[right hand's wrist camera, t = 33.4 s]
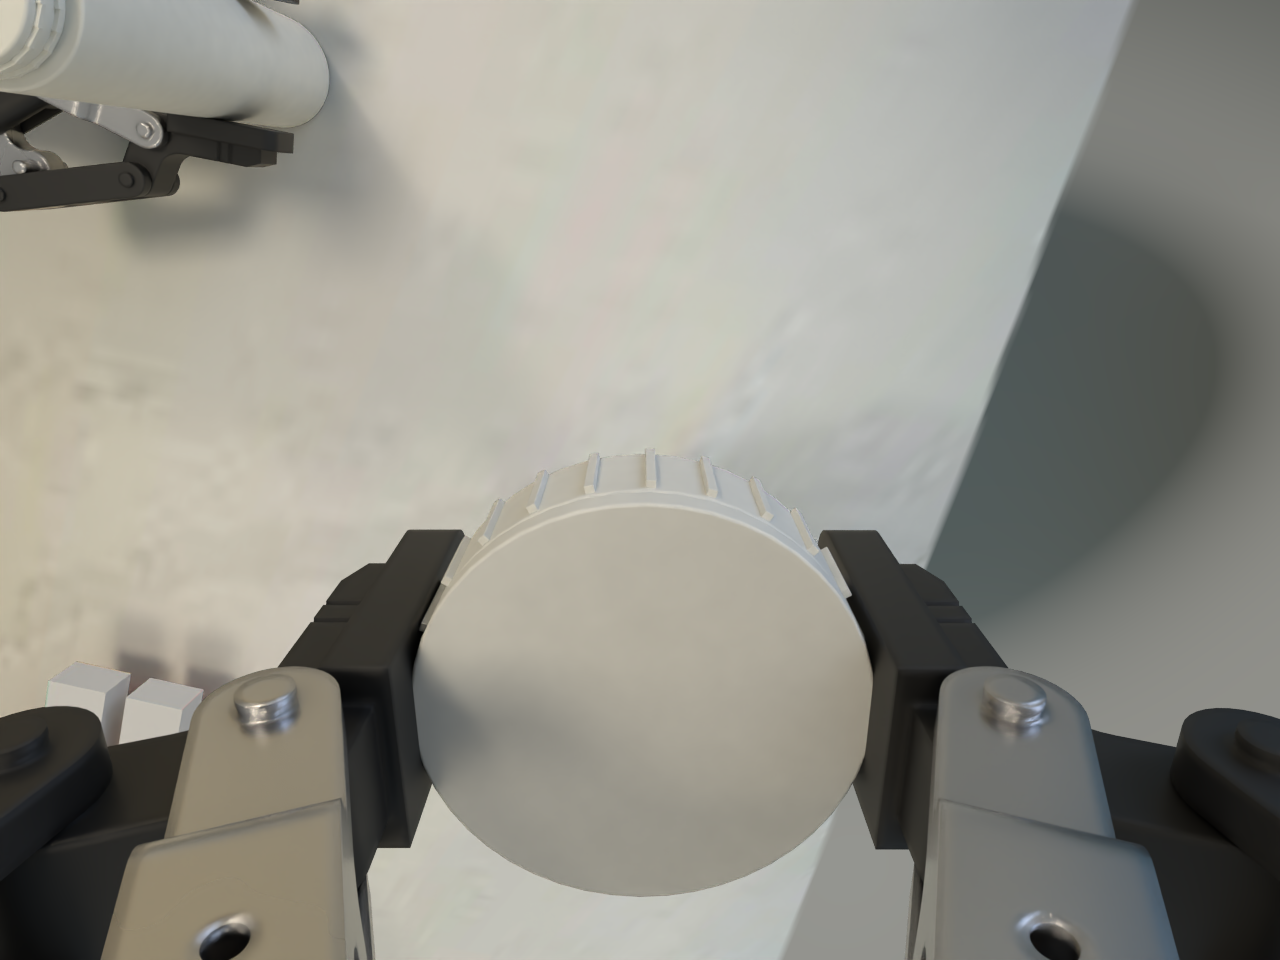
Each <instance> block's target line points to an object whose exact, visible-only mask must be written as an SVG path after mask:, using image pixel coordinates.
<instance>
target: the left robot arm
mask: <svg viewBox="0 0 1280 960" xmlns="http://www.w3.org/2000/svg"><path fill="white" fill-rule="evenodd" d="M276 1H281V2H286V3H291V4H299V0H276ZM63 111H65V112H67V113H69V114H71V115H73V116H75V117H78V118H81V119H83V120H87V121H90V122H93V123H95V124H97V125H99V126H101V127H103V128H105V129H107V130H109V131H111V132H113V133H115V134H117V135H119V136H121V137H123V138H125V139H127V140H129V141H130V142H129V145H128V148H127V151H126V154H125V157H124V159H123V162H117V163H108V164H99V165H91V166H82V167H73V168H68V166H67V165H66V164H65V163H64V162H63V161H62V160H61V159H60V157H59V156H57V155H56V154H55V153H53V152H50V151H42V150H38V149H36V148H34V147H32V146H31V145H30V144H29V143H28V142H27V140H26V139H25V137H24V135H23V134H25V133H27V132H29V131H30V130H32V129H34V128H35V127H37V126H39V125H41V124H42V123H44V122H46V121H47V120H49V119H51V118H52V117H54V116H56V115H58V114H59V113H61V112H63ZM293 139H294V134H292V133H288V132H283V131H277V130H272V129H267V128H262V127H257V126H252V125H247V124H242V123H237V122H232V121H226V120H218V119H211V118H203V117H194V116H186V115H179V114H171V113H163V112H155V111H148V110H140V109H132V108H124V107H117V106H109V105H101V104H93V103H86V102H78V101H70V100H62V99H55V98H47V97H39V96H31V95H24V94H16V93H8V92H0V211H1V212H8V211H25V210H43V209H55V208H64V207H73V206H82V205H91V204H100V203H109V202H118V201H127V200H136V199H145V198H154V197H163V196H170V195H173V194H175V193H176V192H177V190H178V189H179V185H180V180H179V176H178V174H177V173H178V170H179V168H180V165H181V163H182V162H183V160H184V159H185V158H187V157H188V156H193V157H199V158H204V159H209V160H214V161H220V162H224V163H230V164H235V165H240V166H245V167H266V166H270V165H275V164H276V162H277V152H280V153H293Z"/></svg>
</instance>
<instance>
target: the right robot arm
mask: <svg viewBox="0 0 1280 960" xmlns="http://www.w3.org/2000/svg"><path fill="white" fill-rule="evenodd" d="M464 536H465V535H464V533H463V531H462V530H408V531H407V532H406V533H405V535H404V536H403V538H402V539H401V541H400V542H399V544H398V545H397V547H396V548H395V550H394V551H393V553H392V555H391V556H390V558H389V559H388V561H387V562H386V563H369V564H367V565H366V566H364V567H363V568H361V569H359V570H358V571H356V572H355V573H353V574H351V575H350V576H348V577H346V578H345V579H343V580H342V581H341V582H340V583H339V584H338V586H337V587H336V589H335V590H334V591H333V593H332V594H331V595H330V597H329V598H328V599H327V601H326V605H323V606H322V608H321V609H320V610H319V612H318V613H317V614H316V616H315V617H314V622H311V623H310V624H309V625H308V627H307V628H306V629H305V631H304V632H303V633H302V635H301V636H300V638H299V639H298V640H297V642H296V643H295V644H294V646H293V647H292V648H291V650H290V651H289V653H288V654H287V655H286V657H285V658H284V659H283V661H282V662H281V663H280V665H279V666H278V668H271V669H266V670H262V671H258V672H254V673H251V674H248V675H245V676H243V677H240V678H237V679H235V680H233V681H231V682H229V683H227V684H225V685H223V686H221V687H220V688H218V689H217V690H215V691H214V692H212V693H211V694H210V695H209V696H207V697H206V698H205V699H204V700H203V701H202V702H201V703H200V704H199V705H198V707H197V708H196V710H195V711H194V713H193V716H192V718H191V722H190V726H189V730H187V731H183V732H179V733H174V734H170V735H165V736H159V737H154V738H149V739H144V740H139V741H134V742H129V743H123V744H118V745H113V746H108V747H107V743H106V740H105V736H104V732H103V729H102V725H101V722H100V720H99V717H98V716H96V715H95V714H94V713H93V712H91V711H89V710H87V709H84V708H80V707H73V706H51V707H42V708H36V709H31V710H26V711H22V712H18V713H15V714H11V715H8V716H5V717H2V718H0V960H375V948H374V935H373V922H372V909H371V897H370V889H369V882H368V876H367V873H368V870H369V868H370V865H371V863H372V860H373V858H374V855H375V852H376V850H377V848H410V847H411V844H412V841H413V838H414V835H415V832H416V829H417V826H418V823H419V820H420V818H421V815H422V812H423V809H424V806H425V803H426V800H427V797H428V794H429V791H430V788H431V785H432V781H431V779H430V777H429V775H428V773H427V771H426V769H425V767H424V765H423V762H422V759H421V755H420V748H419V740H418V731H417V722H416V712H415V703H414V694H413V682H412V673H413V666H414V661H415V658H416V654H417V651H418V648H419V644H420V641H421V638H422V635H423V633H424V632H422V631H420V625H421V622H422V620H423V618H424V616H425V614H426V612H427V610H428V608H429V606H430V604H431V602H432V600H433V598H434V596H435V594H436V592H437V590H438V588H439V586H440V584H441V581H442V579H443V577H444V575H445V573H446V571H447V569H448V567H449V565H450V563H451V561H452V559H453V557H454V555H455V553H456V551H457V549H458V547H459V545H460V543H461V541H462V539H463V538H464ZM818 547H819V548H820V550H821V549H823V548H825V547H827V548H828V549H829V551H830V553H831V555H832V557H833V559H834V561H835V563H836V565H837V567H838V569H839V571H840V573H841V574H842V576H843V578H844V580H845V582H846V584H847V586H848V588H849V590H850V592H851V594H852V595H851V596H850V597H848V598H846V599H847V601H848V604H849V606H850V608H851V610H852V612H853V614H854V616H855V618H856V620H857V622H858V624H859V626H860V628H861V630H862V632H863V634H864V636H865V642H866V646H867V650H868V653H869V657H870V661H871V665H872V669H873V686H872V697H871V706H870V714H869V723H868V732H867V741H866V749H865V756H864V759H863V762H862V765H861V767H860V770H859V772H858V774H857V776H856V778H855V779H854V781H853V786H854V788H855V791H856V794H857V797H858V800H859V803H860V806H861V809H862V811H863V814H864V817H865V820H866V823H867V826H868V829H869V831H870V834H871V837H872V840H873V843H874V846H875V849H909V851H910V853H911V856H912V858H913V861H914V869H913V876H912V883H911V889H910V897H909V909H908V923H907V935H906V948H905V960H1280V719H1278V718H1275V717H1272V716H1268V715H1264V714H1260V713H1256V712H1251V711H1246V710H1239V709H1230V708H1213V709H1205V710H1201V711H1197V712H1195V713H1193V714H1191V715H1189V716H1188V717H1187V718H1186V719H1185V720H1184V723H1183V725H1182V728H1181V732H1180V736H1179V739H1178V743H1177V747H1172V746H1167V745H1162V744H1157V743H1151V742H1146V741H1141V740H1136V739H1131V738H1126V737H1121V736H1115V735H1111V734H1107V733H1103V732H1099V731H1095V730H1092V729H1091V726H1090V722H1089V718H1088V716H1087V713H1086V711H1085V710H1084V708H1083V707H1082V705H1081V704H1080V703H1079V702H1078V701H1077V700H1076V699H1075V698H1074V697H1073V696H1071V695H1070V694H1069V693H1068V692H1066V691H1065V690H1063V689H1062V688H1060V687H1058V686H1057V685H1055V684H1053V683H1051V682H1049V681H1047V680H1045V679H1042V678H1040V677H1037V676H1035V675H1032V674H1029V673H1026V672H1022V671H1018V670H1014V669H1009V668H1008V667H1007V666H1006V664H1005V663H1004V662H1003V660H1002V659H1001V658H1000V656H999V655H998V654H997V652H996V651H995V650H994V648H993V647H992V646H991V644H990V643H989V642H988V640H987V639H986V638H985V636H984V635H983V634H982V632H981V631H980V629H979V628H978V627H977V625H976V624H975V623H972V621H971V617H970V616H969V615H968V613H967V612H966V611H965V609H964V608H963V607H962V606H959V601H958V600H957V599H956V597H955V596H954V595H953V593H952V592H951V591H950V589H949V588H948V587H947V585H946V584H945V583H944V581H942V580H940V579H939V578H937V577H936V576H934V575H932V574H931V573H929V572H928V571H926V570H924V569H923V568H921V567H920V566H918V565H916V564H899V563H898V561H897V560H896V558H895V557H894V555H893V554H892V552H891V551H890V549H889V548H888V546H887V545H886V543H885V542H884V540H883V539H882V537H881V536H880V534H879V533H878V532H877V531H876V530H823V531H822V532H821V534H820V537H819V541H818Z"/></svg>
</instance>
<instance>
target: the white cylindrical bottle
mask: <svg viewBox="0 0 1280 960" xmlns="http://www.w3.org/2000/svg"><path fill="white" fill-rule="evenodd" d="M328 89H329V70H328V64H327V61H326V57H325V55H324V53H323V50H322V48H321V47H320V45H319V43H318V42H317V40H316V39H315V38H314V36H313V35H312V34H311V33H310V32H309V31H308V30H307V29H306V28H305V27H304V26H302V25H301V24H299V23H298V22H297V21H295V20H293V19H291V18H289V17H287V16H284V15H282V14H280V13H278V12H276V11H274V10H271V9H269V8H267V7H265V6H263V5H261V4H258V3H256V2H254V1H252V0H0V92H8V93H16V94H24V95H31V96H39V97H47V98H55V99H62V100H70V101H78V102H86V103H93V104H101V105H109V106H117V107H124V108H132V109H140V110H148V111H155V112H163V113H171V114H179V115H186V116H194V117H203V118H211V119H218V120H226V121H233V122H241V123H248V124H256V125H264V126H272V127H280V128H290V127H295V126H299V125H302V124H304V123H306V122H308V121H309V120H311V119H312V118H313V117H314V116H315V115H316V114H317V113H318V112H319V111H320V109H321V108H322V106H323V104H324V102H325V100H326V97H327V94H328Z"/></svg>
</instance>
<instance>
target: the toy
mask: <svg viewBox="0 0 1280 960" xmlns="http://www.w3.org/2000/svg"><path fill="white" fill-rule="evenodd" d="M130 677H131V673H127V672H123V671H118V670H114V669H109V668H105V667H100V666H96V665H92V664H87V663H83V662H78V661H76V662H75V663H74V664H72V665H71V666H69V667H68V668H66V669H65V670H63V671H62V672H60V673H59V674H57V675H56V676H54V677H53V678H51V679H50V680H48V688H47V695H46V703H45V707H51V706H73V707H80V708H84V709H87V710H89V711H91V712H93V713H94V714H95V715H96V716H98V717H99V720H100V722H101V725H102V729H103V732H104V736H105V740H106V743H107V747H108V746H113V745H118V744H123V743H129V742H134V741H139V740H144V739H149V738H154V737H159V736H165V735H170V734H174V733H179V732H183V731H187V730H189V726H190V722H191V718H192V716H193V713H194V711H195V710H196V708H197V707H198V705H199V704H200V703H201V702H202V697H203V691H204V690H203V689H199V688H194V687H190V686H185V685H181V684H177V683H172V682H168V681H163V680H159V679H154V678H149V679H148V680H147V681H146V682H144V683H143V684H142V685H141V686H140V687H138V688H137V689H136V690H135V691H133V692H132V693H131V694H130V695H129V696H128V690H129V683H130Z"/></svg>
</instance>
